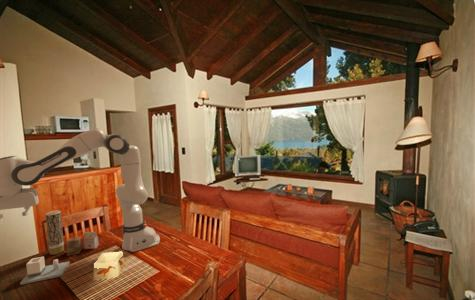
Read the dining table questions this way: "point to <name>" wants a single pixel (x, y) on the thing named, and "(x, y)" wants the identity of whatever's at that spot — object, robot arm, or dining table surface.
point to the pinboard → (48, 272)
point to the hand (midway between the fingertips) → (12, 216)
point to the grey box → (90, 240)
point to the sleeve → (35, 266)
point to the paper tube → (54, 232)
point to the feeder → (74, 246)
